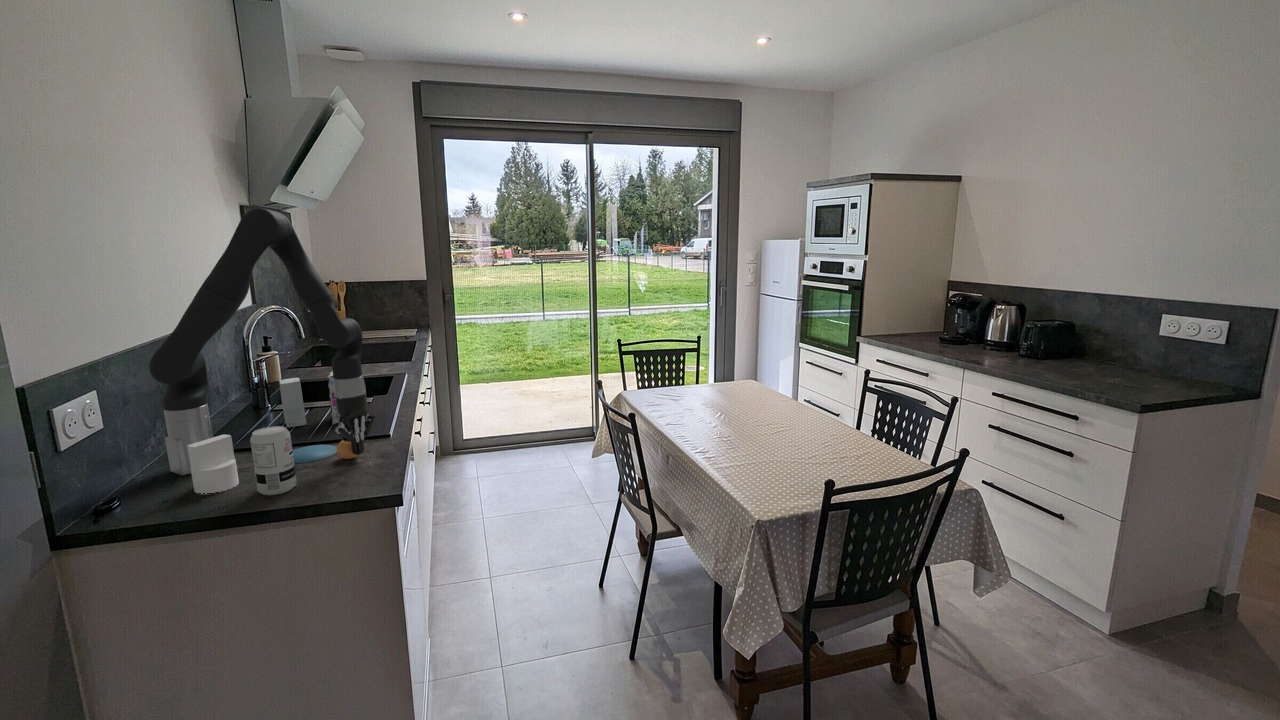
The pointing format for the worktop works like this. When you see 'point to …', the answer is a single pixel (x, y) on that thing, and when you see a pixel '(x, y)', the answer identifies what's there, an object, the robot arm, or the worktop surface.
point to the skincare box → (292, 402)
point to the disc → (313, 453)
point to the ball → (345, 450)
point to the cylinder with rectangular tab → (213, 465)
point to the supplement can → (273, 460)
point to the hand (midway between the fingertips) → (358, 453)
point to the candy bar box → (333, 400)
